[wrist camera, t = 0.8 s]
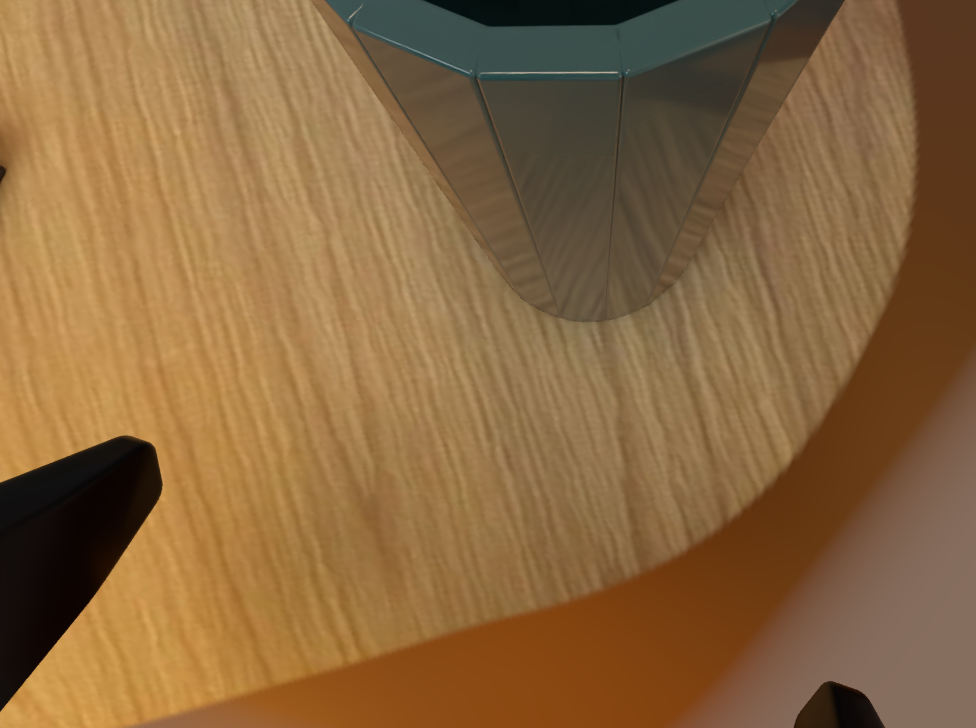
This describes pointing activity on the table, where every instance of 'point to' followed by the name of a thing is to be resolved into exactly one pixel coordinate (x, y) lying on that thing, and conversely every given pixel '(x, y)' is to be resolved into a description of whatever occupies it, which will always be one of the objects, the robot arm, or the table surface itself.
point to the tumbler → (583, 124)
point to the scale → (1, 172)
